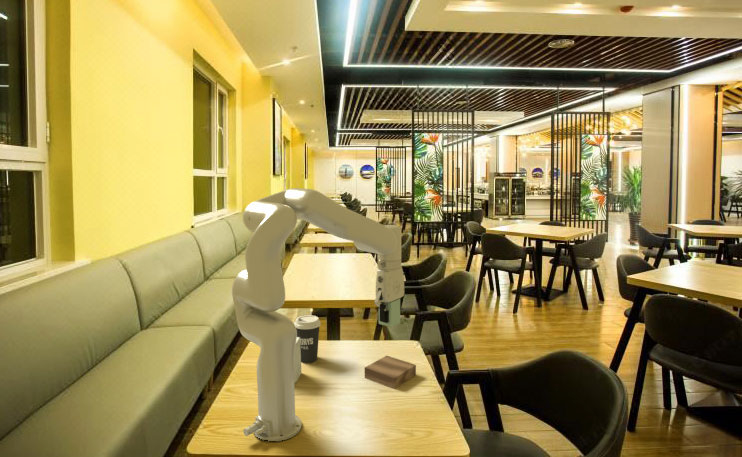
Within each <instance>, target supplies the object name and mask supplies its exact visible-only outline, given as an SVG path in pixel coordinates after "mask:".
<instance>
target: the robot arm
mask: <svg viewBox="0 0 742 457" xmlns="http://www.w3.org/2000/svg"><path fill="white" fill-rule="evenodd" d="M298 220H301V221H304V222H307V223H309V224H311V225H313V226H315V227H317V228H319V229H321V230H323V231H324V232H326V233H328V234H329V235H332V236H334V237H337V238H339V239H343V240H347V241H352V242H353V245H354V246H355V247H356V249H358V250H360V251H363V252H366V253H370V254H371V253H373V254H377V271H376V278H375V299H374V302H373V303H374V305H375V306H376V307H377V308H378V309H379V310H380V321H381V322H385V323H388V322H389V311H388V310H387V309H388V303H389V302H392V301H394V300H397V299H400V301H402V300H401V299H402V297H404V296H405V277H404V270H403V267H402V228H401V227H400V226H399V225H395V224H385V225H384V224H382V223H380V222H378V221H376V220H374V219H372V218H370V217H367V216H364V215H362V214H360V213H358V212H357V211H353V210H351V209H349V208H347V207H345V206H344V205H342V204H340V203H338V202H337V201H336V200H333V199H332V198H330V197H329V196H327V195H325V194H323V193H322V192H320V191H318V190H315V189H312V188H311V189H310V188H301V187H300V188H299V187H291V188H288V189H284V190H281V191H278V192H277V193H274V194H270V195H268V196H265V197H263V198H259V199H257V200H254V201H252V202H251V203H249V204H248V205H247V206H246V208H245V209H244V211H243V215H242V221H243V223H244V226H245V227H246V229H248V230H249V231H250V232H251V233H252V235H251V237H250V238H249V240H248V242H247V245H246V248H245V254H244V255H245V256H244V258H245V269H243V270H242V271H240V272H239V273H238V274H237V275H236V277H235V278H234V281H233V283H232V288H231V295H232V300H233V306H234V311H235V317H236V323H237V327H238V330H239V332H240V334H241V335H242V337H244V339H246V340H248V341H249V342H252V343H253V344H255V345H257V346H258V347H259V349H260V352H259V355H258V358H257V361H256V382H257V386H256V387H257V406H258V407H257V408H258V415H257V416H255V418H254V420H255V421H253V423H252V424H251V425H249V426H247V427H245V428H243V432H242V433H243V434H244V436H245V437H248V436H250V435H251V434H253V435H254V434H255V435H254V436H255V437H256V438H257V437H258V438H257V439H259V438H260V439H259V440H261V439H263V440H262V441H264V440H268V441H267V442H269V441H276V442H283V441H285V440H288V439H291V438H293V437H294V436H296V435H297V434H298V433H299V432H300V431H301V428H302V420H301V418H300V416H298V415H296V399H295V398H296V394H295V393H296V392H295V387H296V386H295V382H294V350H295V344H296V338H297V330H296V327H295V325H294V322H293V321H292V319H290V318H289V317H288V316H287V315H284V314H282V313H279V312H277V311H279V310H280V309H281V308H282V307H283V305H284V304H285V300H286V288H285V280H284V276H283V269H282V263H281V262H282V260H281V253H282V249H283V246H284V244H285V242H287V239H288V238H289V237H290V235H292V233H293V232H294V231H295V229H296V226H297V221H298ZM383 299H384V300H383ZM383 302H384V303H385V306H384V305H383ZM253 432H254V433H253ZM282 440H283V441H282Z"/></svg>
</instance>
